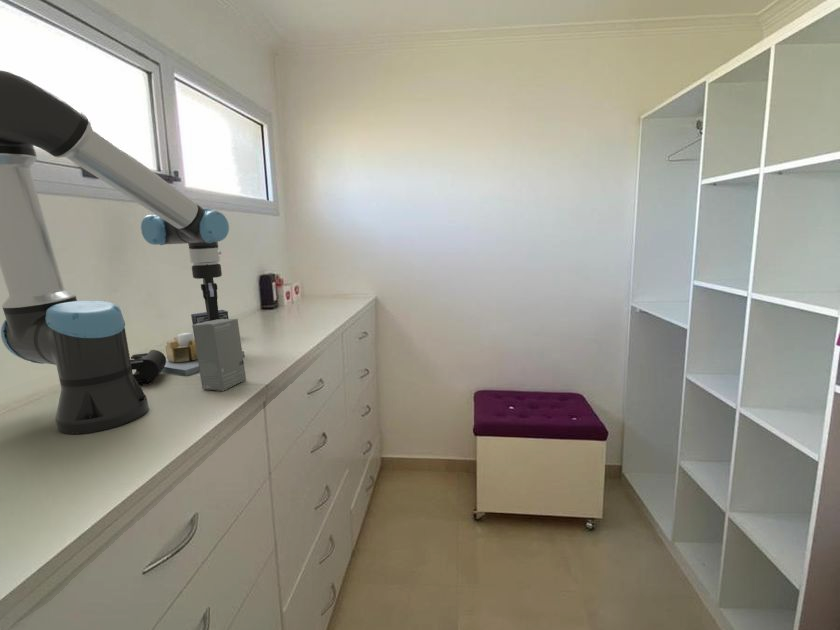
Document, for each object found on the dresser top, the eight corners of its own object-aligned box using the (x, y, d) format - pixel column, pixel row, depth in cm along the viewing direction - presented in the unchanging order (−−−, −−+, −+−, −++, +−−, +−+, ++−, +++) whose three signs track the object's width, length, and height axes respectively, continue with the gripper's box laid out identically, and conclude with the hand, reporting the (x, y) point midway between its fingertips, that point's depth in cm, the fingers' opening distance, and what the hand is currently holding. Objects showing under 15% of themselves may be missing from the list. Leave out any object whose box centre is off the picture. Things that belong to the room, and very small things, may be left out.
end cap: (161, 383, 109) (156, 357, 108) (128, 388, 107) (123, 361, 106) (168, 372, 118) (164, 348, 117) (138, 376, 116) (133, 351, 115)
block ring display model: (186, 375, 114) (181, 344, 113) (143, 368, 123) (138, 339, 121) (244, 356, 131) (241, 328, 129) (202, 351, 139) (199, 324, 138)
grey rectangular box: (223, 392, 101) (214, 324, 98) (199, 389, 103) (189, 324, 100) (248, 380, 109) (240, 317, 106) (225, 378, 111) (217, 316, 108)
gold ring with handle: (163, 363, 120) (160, 344, 119) (175, 353, 130) (173, 336, 129) (225, 357, 123) (222, 339, 122) (232, 348, 133) (230, 331, 132)
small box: (226, 337, 157) (223, 308, 155) (232, 340, 152) (228, 310, 150) (194, 343, 150) (190, 313, 148) (199, 346, 145) (195, 315, 144)
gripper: (223, 263, 121) (233, 346, 125) (217, 261, 132) (227, 337, 136) (192, 265, 117) (204, 350, 122) (189, 263, 128) (200, 341, 133)
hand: (216, 344), depth 129 cm, fingers closed
